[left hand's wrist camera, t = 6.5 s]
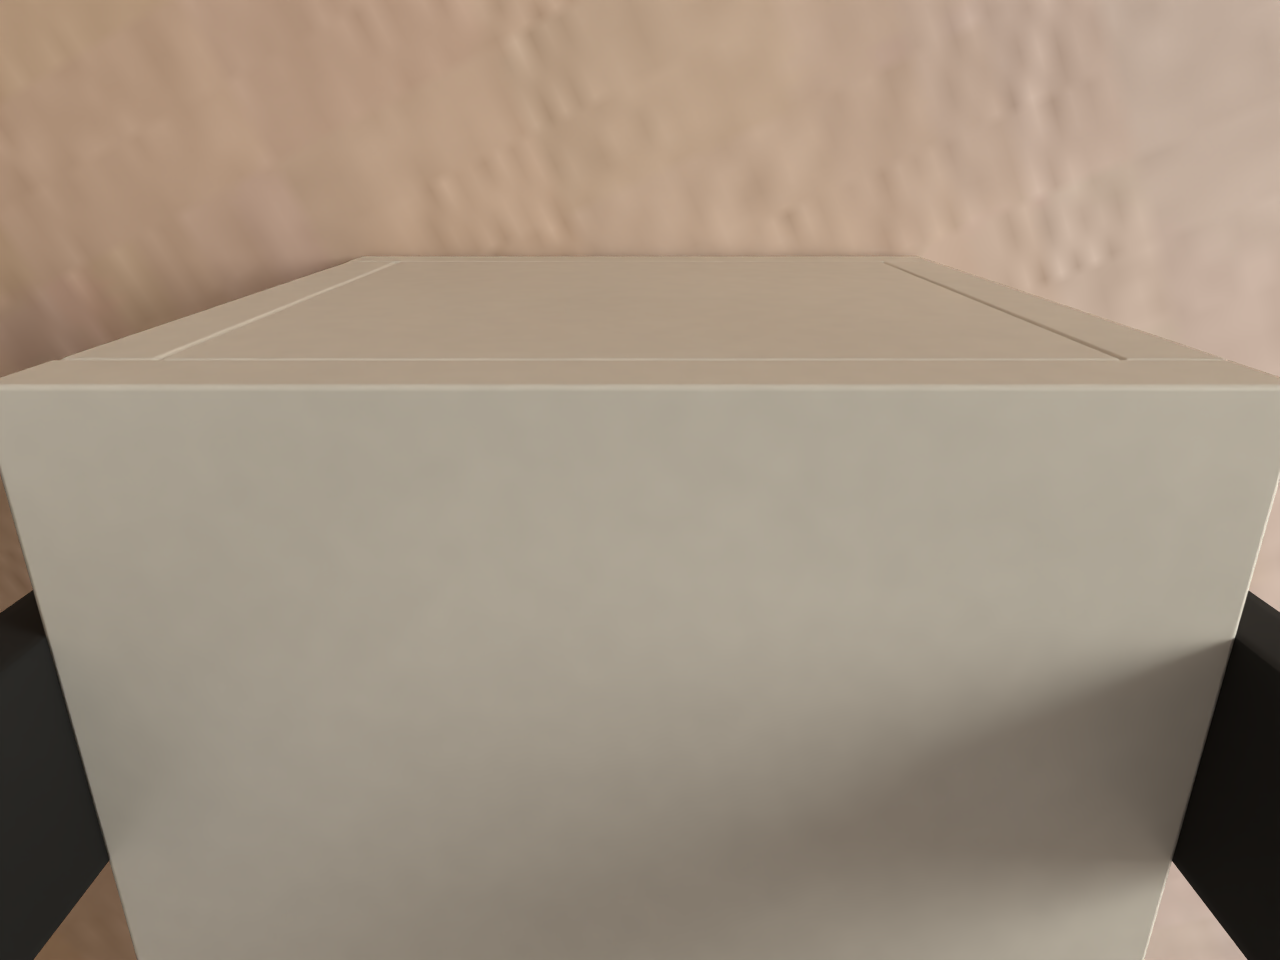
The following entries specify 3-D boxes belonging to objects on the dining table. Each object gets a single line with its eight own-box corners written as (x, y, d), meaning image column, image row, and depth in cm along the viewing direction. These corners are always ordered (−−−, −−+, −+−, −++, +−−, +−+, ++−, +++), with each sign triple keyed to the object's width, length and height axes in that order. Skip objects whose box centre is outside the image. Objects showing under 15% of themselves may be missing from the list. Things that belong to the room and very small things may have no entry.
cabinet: (841, 944, 24) (989, 1513, 14) (438, 943, 24) (292, 1513, 14) (918, 255, 17) (1309, 385, 7) (362, 255, 17) (-28, 384, 7)
